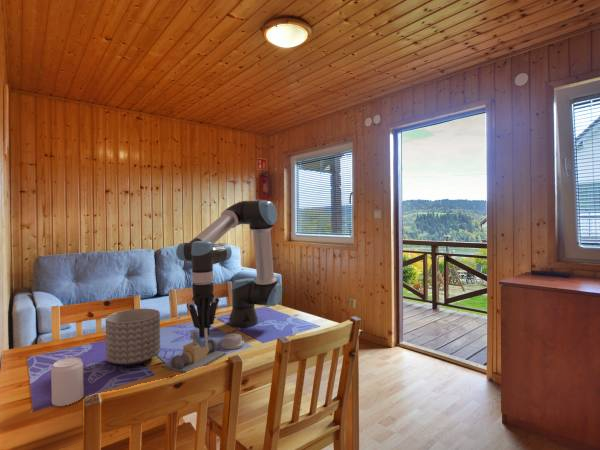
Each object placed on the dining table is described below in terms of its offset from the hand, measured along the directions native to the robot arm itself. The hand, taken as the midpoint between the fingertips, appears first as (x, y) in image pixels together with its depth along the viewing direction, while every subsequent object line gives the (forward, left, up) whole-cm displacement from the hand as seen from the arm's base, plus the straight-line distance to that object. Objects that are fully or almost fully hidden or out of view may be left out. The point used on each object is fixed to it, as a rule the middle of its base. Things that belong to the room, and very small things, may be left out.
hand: (204, 344), depth 131 cm
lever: (0, -3, +1) cm, 3 cm away
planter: (+8, -28, -9) cm, 30 cm away
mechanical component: (-22, -4, -9) cm, 24 cm away
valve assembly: (-3, -7, -8) cm, 11 cm away
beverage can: (+37, -21, -9) cm, 44 cm away
